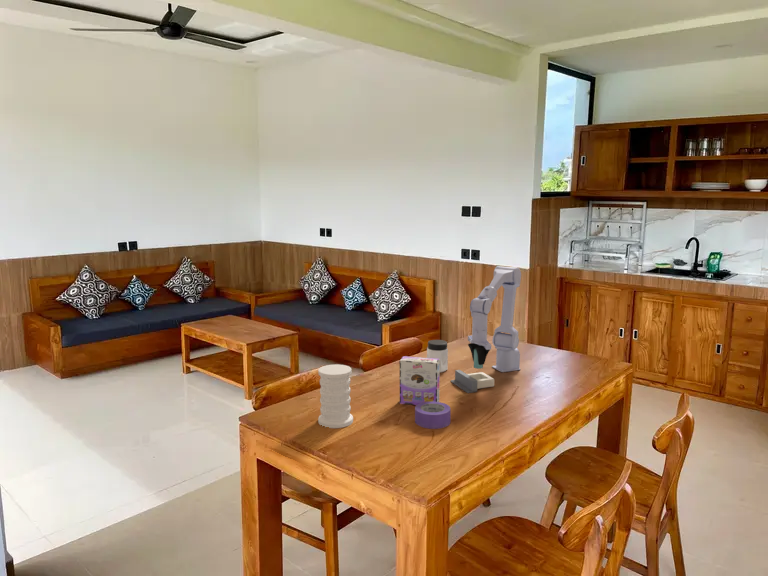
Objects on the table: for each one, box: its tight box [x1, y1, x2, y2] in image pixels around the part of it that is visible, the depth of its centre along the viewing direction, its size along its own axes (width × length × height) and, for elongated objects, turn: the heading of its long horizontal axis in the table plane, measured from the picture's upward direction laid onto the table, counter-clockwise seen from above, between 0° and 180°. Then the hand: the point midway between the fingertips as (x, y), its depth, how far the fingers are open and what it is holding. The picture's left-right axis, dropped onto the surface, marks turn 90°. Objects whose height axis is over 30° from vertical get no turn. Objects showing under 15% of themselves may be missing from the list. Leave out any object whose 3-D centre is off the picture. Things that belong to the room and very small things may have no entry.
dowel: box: [473, 349, 484, 370], centre depth 230 cm, size 4×4×7 cm
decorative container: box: [317, 363, 354, 429], centre depth 195 cm, size 12×12×18 cm
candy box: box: [398, 355, 441, 406], centre depth 212 cm, size 14×6×16 cm, turn 74°
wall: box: [450, 369, 478, 394], centre depth 230 cm, size 4×14×4 cm, turn 21°
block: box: [466, 371, 495, 390], centre depth 232 cm, size 9×9×3 cm
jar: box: [426, 339, 449, 373], centre depth 250 cm, size 9×8×12 cm
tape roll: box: [414, 401, 451, 430], centre depth 196 cm, size 12×12×5 cm
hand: (478, 362), depth 231 cm, fingers closed on dowel, 4 cm apart
